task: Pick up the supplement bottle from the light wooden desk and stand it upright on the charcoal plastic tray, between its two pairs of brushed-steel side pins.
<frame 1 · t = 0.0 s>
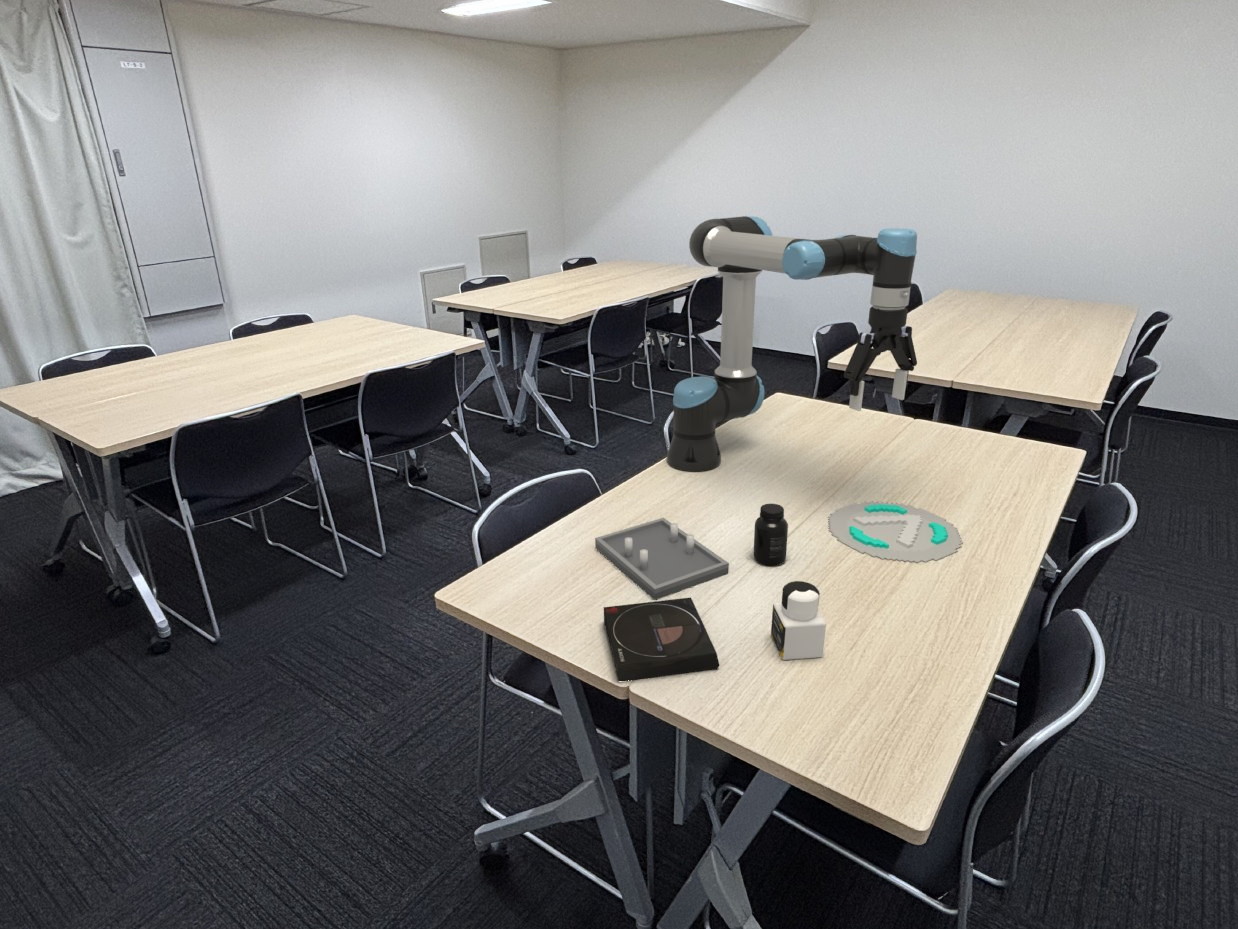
hand: (876, 403, 156), 28 cm above the table, fingers open, 13 cm apart
medicine bottle: (795, 647, 124), on the table
supplement bottle: (769, 559, 151), on the table
pin tray: (659, 560, 151), on the table
grey symbol plate: (892, 533, 161), on the table
portable cd player: (658, 648, 125), on the table
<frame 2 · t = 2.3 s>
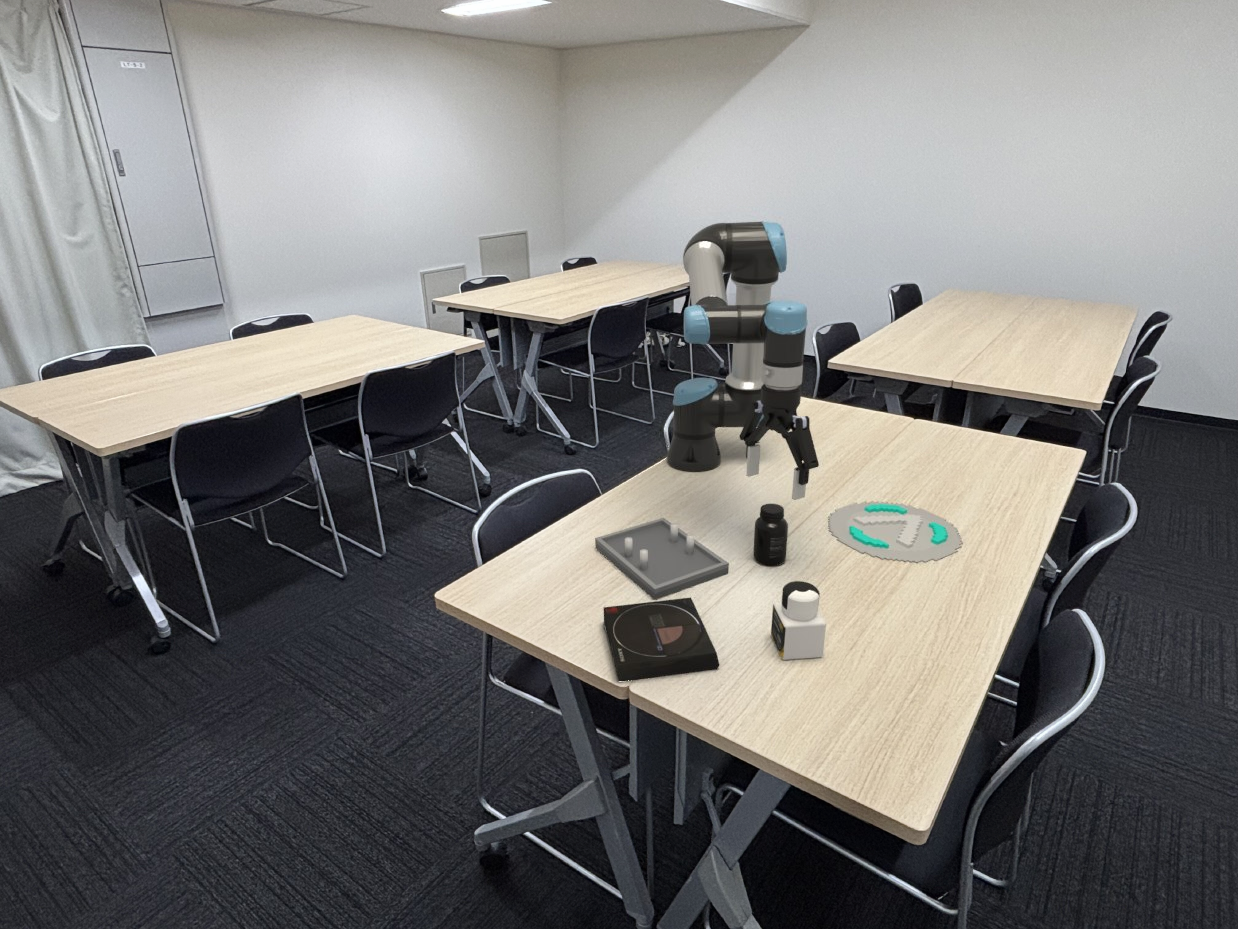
hand: (774, 486, 144), 17 cm above the table, fingers open, 13 cm apart
nothing on the table moved.
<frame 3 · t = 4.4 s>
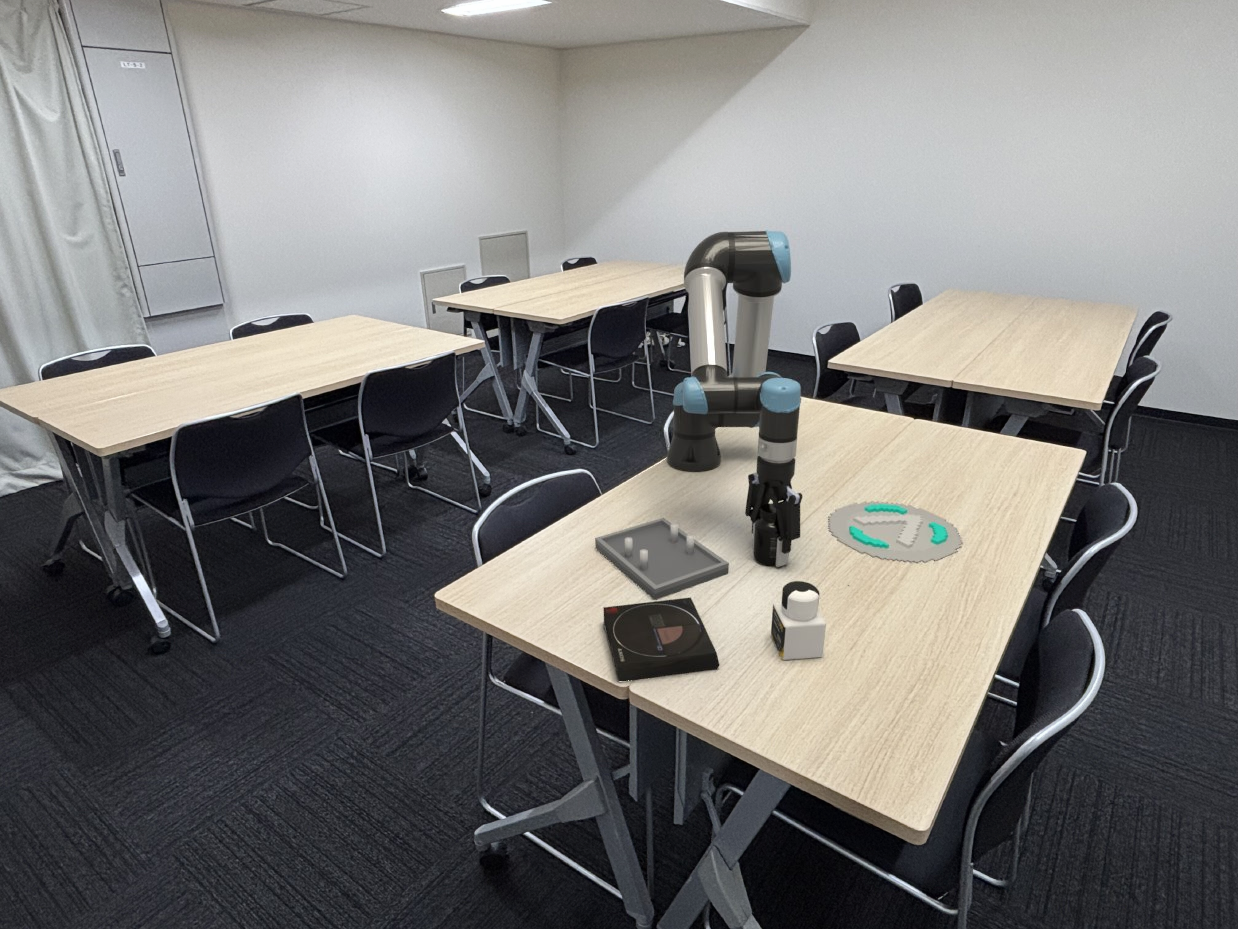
hand: (769, 556, 151), 1 cm above the table, fingers closed on supplement bottle, 7 cm apart
supplement bottle: (769, 559, 151), on the table, touching gripper
everything else where it was.
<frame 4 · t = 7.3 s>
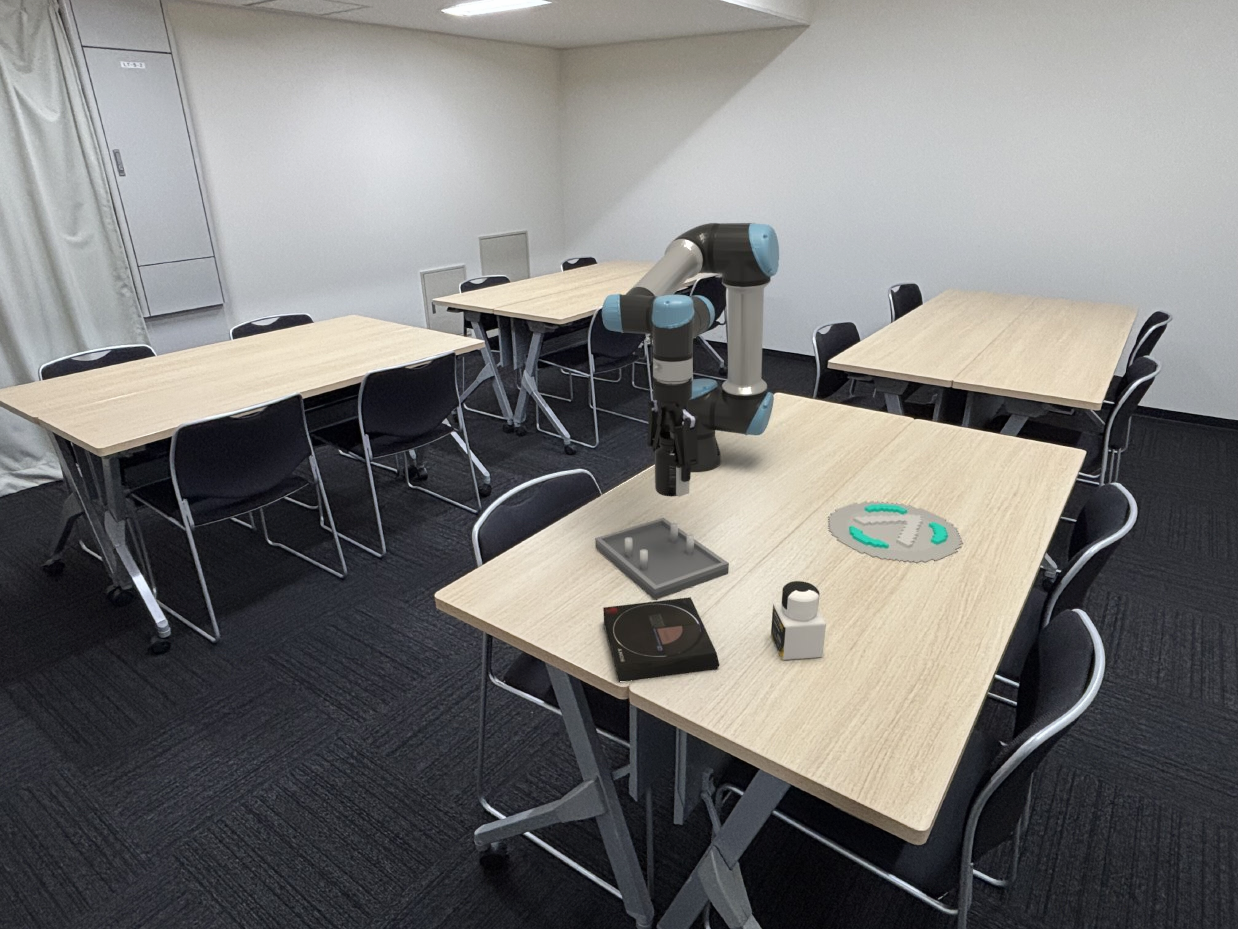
hand: (671, 487, 144), 17 cm above the table, fingers closed on supplement bottle, 7 cm apart
supplement bottle: (671, 491, 145), point 16 cm above the table, touching gripper
everything else where it was.
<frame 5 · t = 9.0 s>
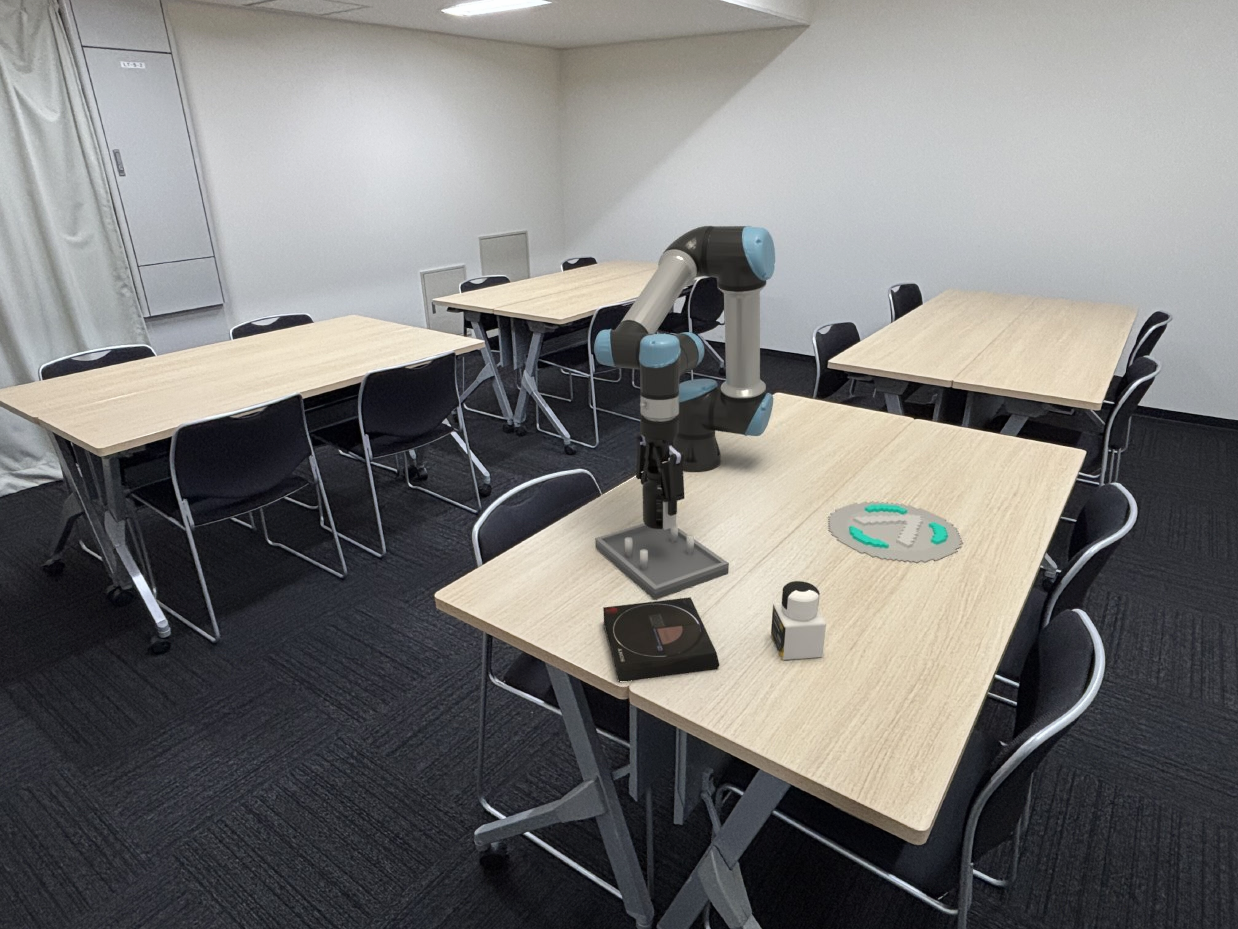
hand: (659, 520, 147), 10 cm above the table, fingers closed on supplement bottle, 7 cm apart
supplement bottle: (659, 523, 148), point 9 cm above the table, touching gripper
everything else where it was.
when the fingers open (4 cm above the table, at t = 10.5 s): supplement bottle drops 2 cm, resting on pin tray.
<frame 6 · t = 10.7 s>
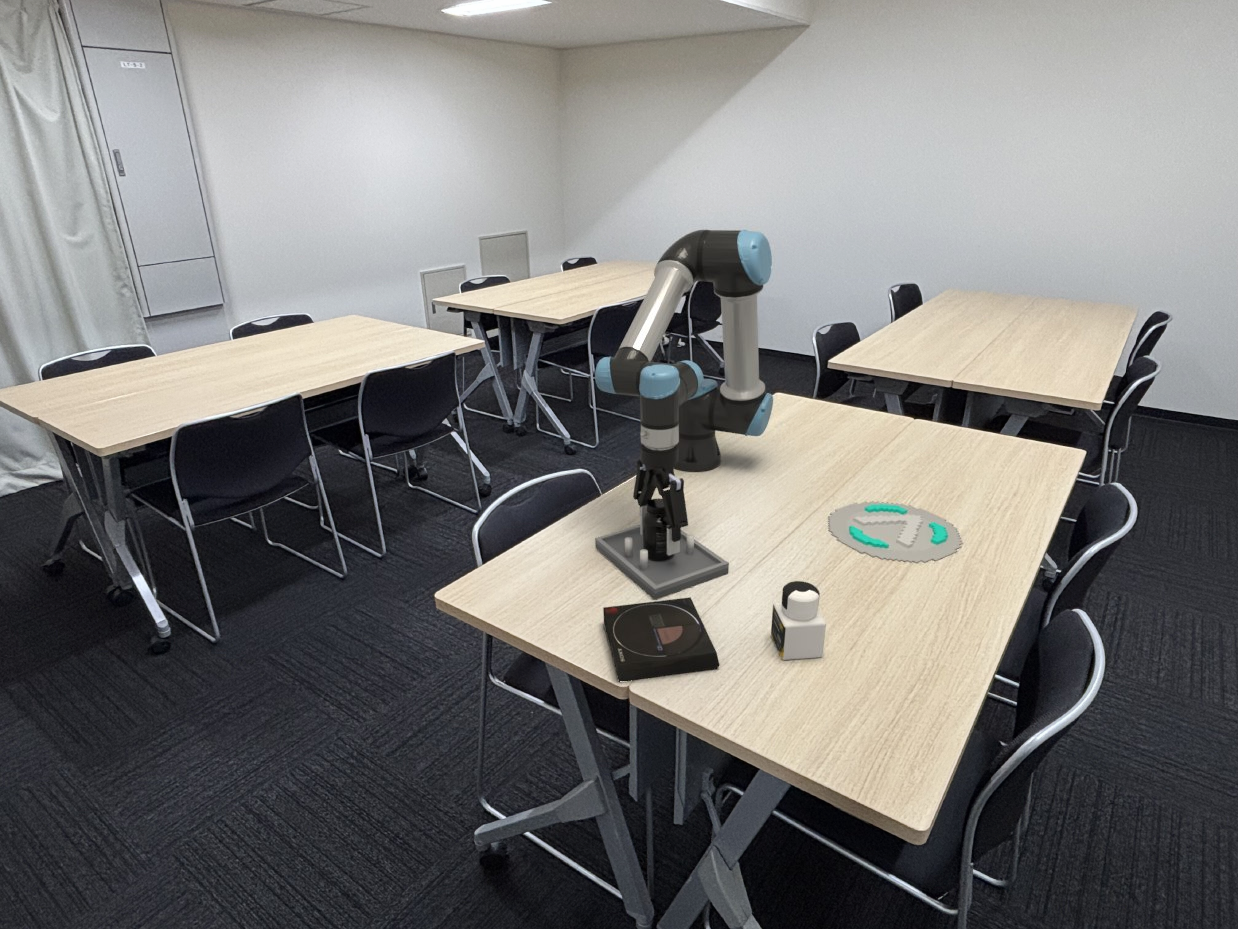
hand: (659, 542, 150), 4 cm above the table, fingers open, 9 cm apart
supplement bottle: (659, 554, 151), point 1 cm above the table, touching pin tray
everything else where it was.
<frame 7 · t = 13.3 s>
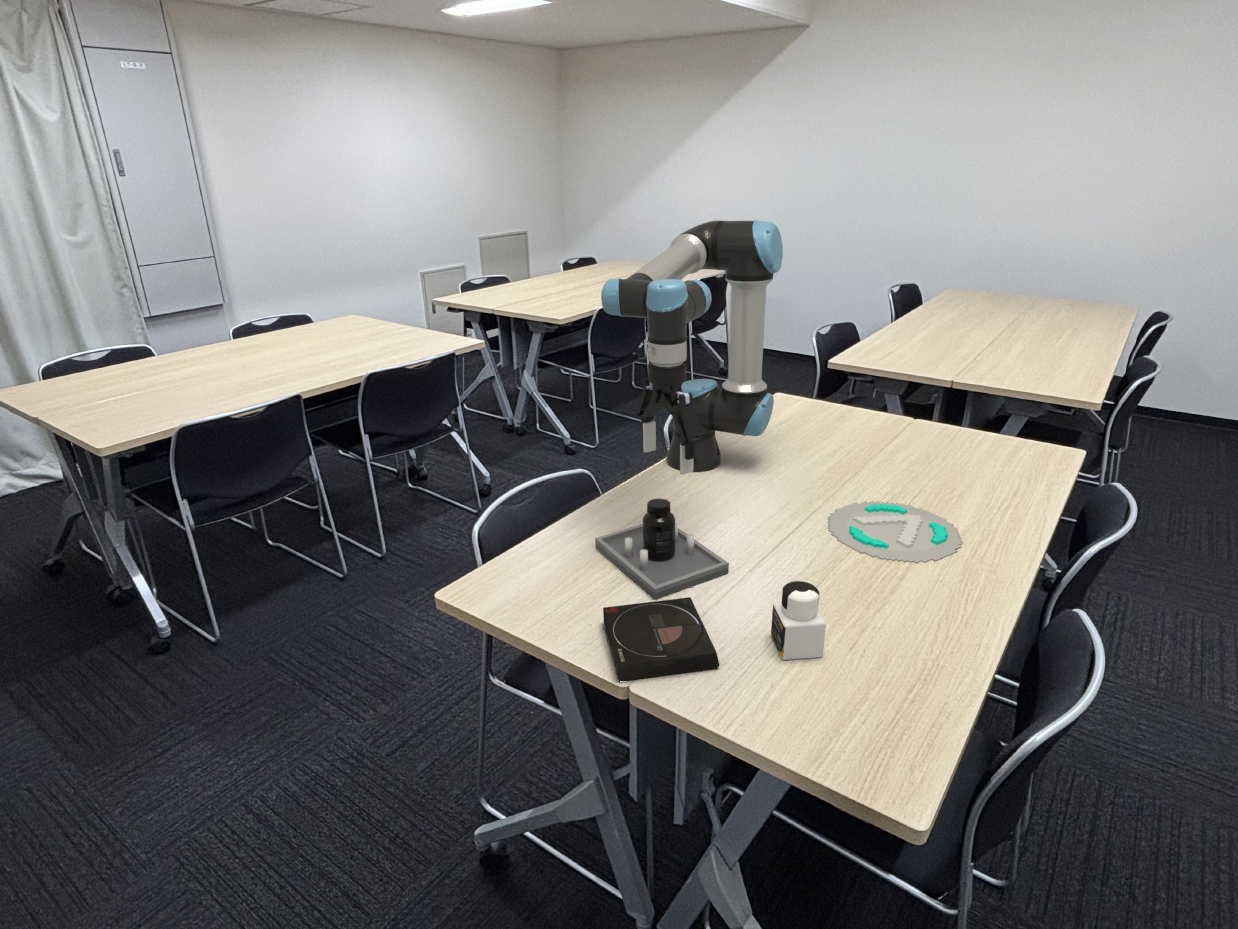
hand: (667, 461, 147), 21 cm above the table, fingers open, 13 cm apart
nothing on the table moved.
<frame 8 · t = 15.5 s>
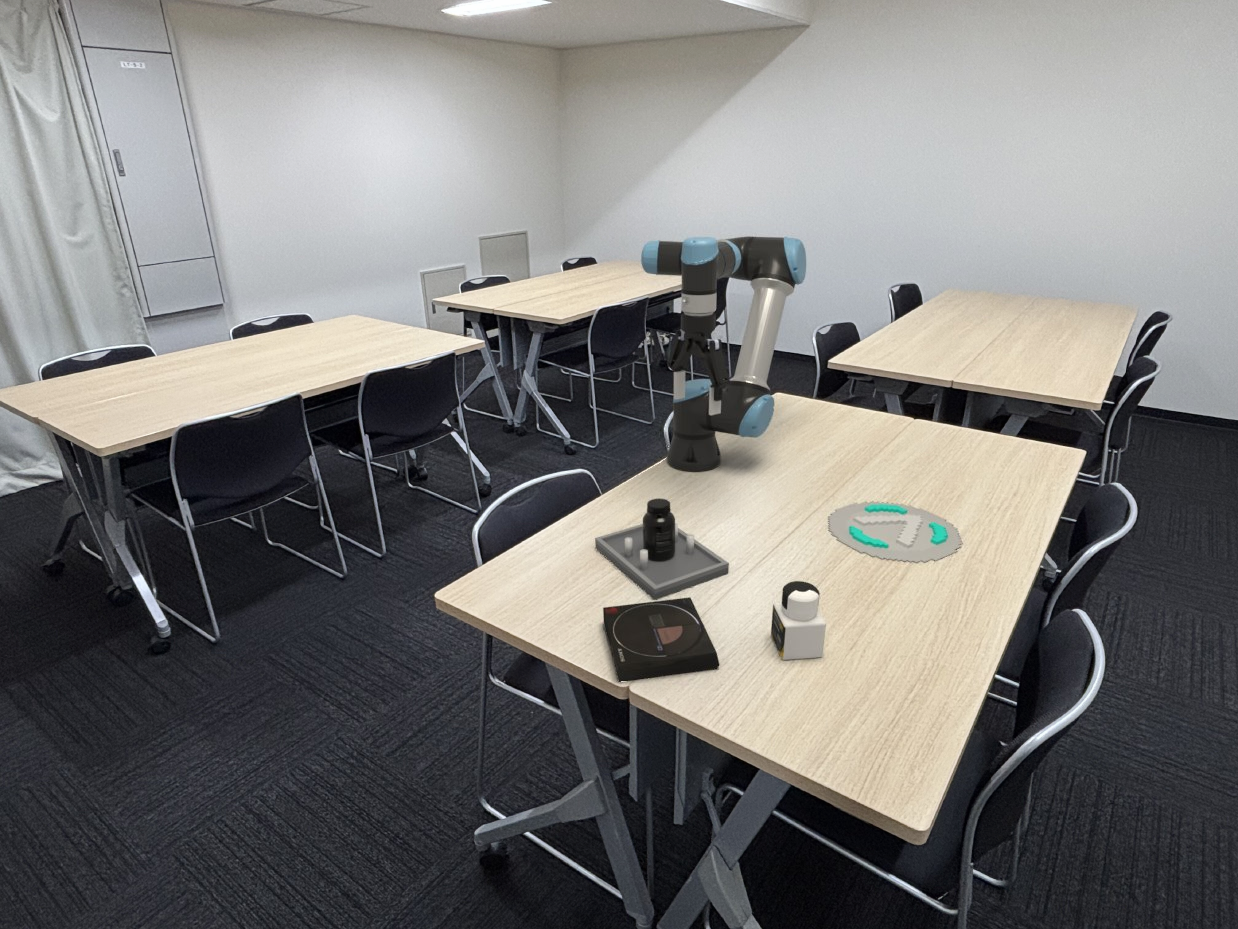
hand: (696, 406, 162), 27 cm above the table, fingers open, 13 cm apart
nothing on the table moved.
at the end: supplement bottle 0.2 cm off-centre on the pin tray, point 1.3 cm above the pin tray's base; supplement bottle tilted 0°; the gripper is holding nothing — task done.
